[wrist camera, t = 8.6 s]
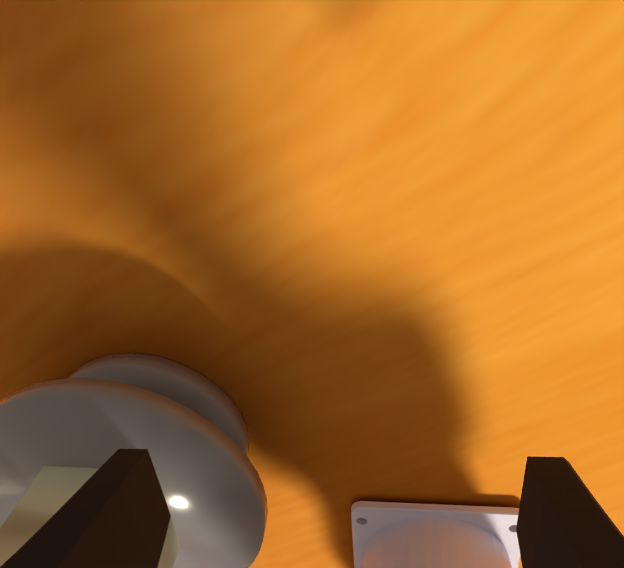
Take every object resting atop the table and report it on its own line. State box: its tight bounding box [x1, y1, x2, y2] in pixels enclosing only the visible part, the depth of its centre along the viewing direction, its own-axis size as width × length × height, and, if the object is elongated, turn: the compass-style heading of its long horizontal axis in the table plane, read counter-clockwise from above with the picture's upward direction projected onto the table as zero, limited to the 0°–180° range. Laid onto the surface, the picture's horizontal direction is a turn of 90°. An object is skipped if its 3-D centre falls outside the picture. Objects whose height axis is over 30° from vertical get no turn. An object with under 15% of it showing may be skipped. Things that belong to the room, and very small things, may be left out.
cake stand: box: [0, 353, 268, 568], centre depth 23 cm, size 12×12×4 cm
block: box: [0, 466, 180, 568], centre depth 19 cm, size 4×4×4 cm
